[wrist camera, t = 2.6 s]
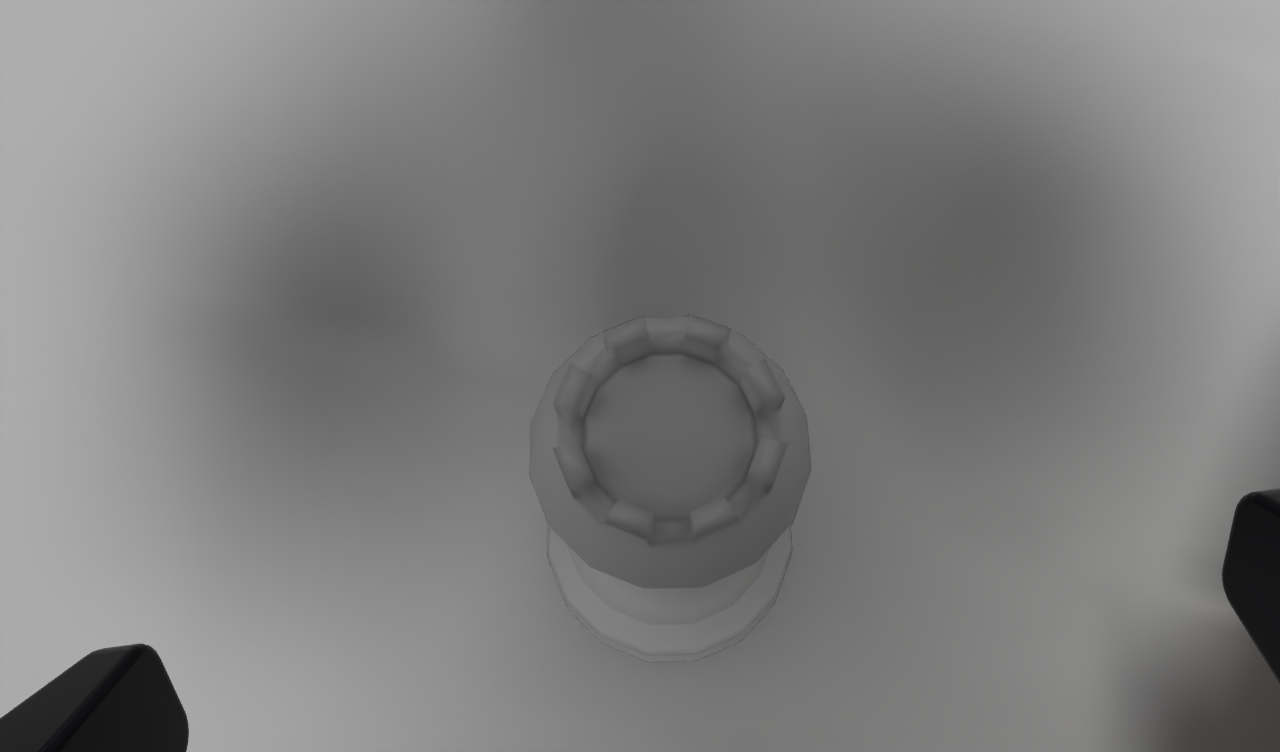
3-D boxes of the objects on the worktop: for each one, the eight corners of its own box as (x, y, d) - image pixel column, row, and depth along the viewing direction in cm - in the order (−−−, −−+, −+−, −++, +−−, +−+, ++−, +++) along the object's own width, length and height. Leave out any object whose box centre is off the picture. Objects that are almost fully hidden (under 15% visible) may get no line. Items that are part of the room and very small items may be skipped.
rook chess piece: (633, 385, 18) (609, 168, 11) (831, 504, 17) (957, 360, 10) (503, 577, 17) (372, 486, 9) (708, 715, 16) (743, 737, 9)
